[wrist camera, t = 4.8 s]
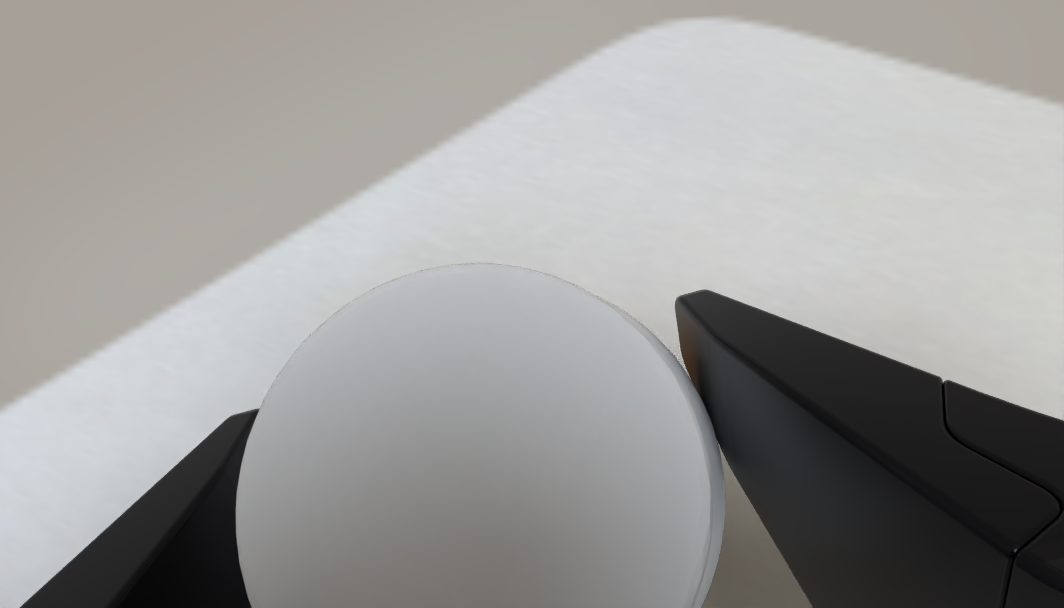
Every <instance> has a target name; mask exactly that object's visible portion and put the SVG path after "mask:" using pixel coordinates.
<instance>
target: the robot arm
mask: <svg viewBox="0 0 1064 608" xmlns="http://www.w3.org/2000/svg"><path fill="white" fill-rule="evenodd" d="M675 312H676V319H677V326H678V333H679V341H680V348H681V353H682V357H683V360H684V363H685V366H686V369H687V371H688V373H689V376H690V378H691V380H692V382H693V384H694V386H695V388H696V389H697V391H698V393H699V395H700V397H701V399H702V401H703V403H704V406H705V408H706V410H707V412H708V415H709V417H710V419H711V422H712V425H713V428H714V431H715V435H716V438H717V441H718V443H719V445H720V447H721V449H722V452H723V454H724V456H725V458H726V460H727V462H728V464H729V466H730V468H731V469H732V471H733V473H734V475H735V477H736V478H737V480H738V482H739V483H740V485H741V487H742V488H743V490H744V492H745V494H746V495H747V497H748V499H749V500H750V502H751V504H752V505H753V507H754V509H755V510H756V512H757V514H758V515H759V517H760V519H761V521H762V522H763V524H764V526H765V527H766V529H767V531H768V532H769V534H770V536H771V537H772V539H773V541H774V543H775V544H776V546H777V548H778V549H779V551H780V553H781V554H782V556H783V558H784V559H785V561H786V563H787V565H788V566H789V568H790V570H791V571H792V573H793V575H794V576H795V578H796V580H797V581H798V583H799V585H800V586H801V588H802V590H803V592H804V593H805V595H806V597H807V598H808V600H809V602H810V603H811V605H812V607H813V608H1064V420H1060V419H1057V418H1054V417H1051V416H1048V415H1045V414H1041V413H1038V412H1035V411H1032V410H1030V409H1027V408H1024V407H1021V406H1018V405H1015V404H1013V403H1010V402H1007V401H1004V400H1001V399H999V398H996V397H993V396H990V395H987V394H984V393H982V392H979V391H976V390H974V389H971V388H968V387H966V386H963V385H960V384H958V383H955V382H952V381H950V380H946V381H944V382H943V381H942V379H941V377H938V376H936V375H933V374H930V373H928V372H925V371H922V370H920V369H917V368H914V367H912V366H909V365H907V364H904V363H901V362H899V361H896V360H893V359H891V358H888V357H885V356H883V355H880V354H877V353H875V352H872V351H869V350H867V349H864V348H861V347H859V346H856V345H853V344H851V343H848V342H845V341H843V340H840V339H837V338H835V337H832V336H829V335H827V334H824V333H821V332H819V331H816V330H813V329H811V328H808V327H805V326H803V325H800V324H797V323H795V322H792V321H790V320H787V319H784V318H782V317H779V316H776V315H774V314H771V313H768V312H766V311H763V310H760V309H758V308H755V307H752V306H750V305H747V304H744V303H742V302H739V301H736V300H734V299H731V298H728V297H726V296H723V295H720V294H718V293H715V292H712V291H710V290H700V291H696V292H692V293H688V294H685V295H681V296H679V297H677V299H676V301H675ZM259 410H260V409H254V410H250V411H247V412H243V413H239V414H235V415H233V416H230V417H229V418H228V419H226V420H225V421H224V422H223V423H222V424H221V425H220V426H219V427H218V428H217V429H215V430H214V431H213V432H212V433H211V434H210V435H209V436H208V437H207V438H206V439H204V440H203V441H202V442H201V443H200V444H199V445H198V446H197V447H196V448H195V449H193V450H192V451H191V452H190V453H189V454H188V455H187V456H186V457H185V458H184V459H182V460H181V461H180V462H179V463H178V464H177V465H176V466H175V467H174V468H173V469H171V470H170V471H169V472H168V473H167V474H166V475H165V476H164V477H163V478H162V479H161V480H159V481H158V482H157V483H156V484H155V485H154V486H153V487H152V488H151V489H150V490H148V491H147V492H146V493H145V494H144V495H143V496H142V497H141V498H140V499H139V500H137V501H136V502H135V503H134V504H133V505H132V506H131V507H130V508H129V509H128V510H126V511H125V512H124V513H123V514H122V515H121V516H120V517H119V518H118V519H117V520H115V521H114V522H113V523H112V524H111V525H110V526H109V527H108V528H107V529H106V530H104V531H103V532H102V533H101V534H100V535H99V536H98V537H97V538H96V539H95V540H94V541H92V542H91V543H90V544H89V545H88V546H87V547H86V548H85V549H84V550H83V551H81V552H80V553H79V554H78V555H77V556H76V557H75V558H74V559H73V560H72V561H70V562H69V563H68V564H67V565H66V566H65V567H64V568H63V569H62V570H61V571H59V572H58V573H57V574H56V575H55V576H54V577H53V578H52V579H51V580H50V581H48V582H47V583H46V584H45V585H44V586H43V587H42V588H41V589H40V590H39V591H37V592H36V593H35V594H34V595H33V596H32V597H31V598H30V599H29V600H28V601H27V602H25V603H24V604H23V605H22V606H21V607H20V608H252V607H251V604H250V602H249V599H248V596H247V592H246V588H245V584H244V580H243V576H242V572H241V567H240V563H239V555H238V546H237V538H236V496H237V487H238V481H239V475H240V469H241V464H242V460H243V456H244V452H245V448H246V444H247V440H248V438H249V435H250V432H251V430H252V427H253V424H254V422H255V419H256V417H257V414H258V412H259Z"/></svg>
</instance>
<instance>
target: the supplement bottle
mask: <svg viewBox="0 0 1064 608" xmlns="http://www.w3.org/2000/svg"><path fill="white" fill-rule="evenodd" d="M724 524H725V483H724V472H723V467H722V461H721V456H720V450H719V446H718V443H717V439H716V435H715V431H714V428H713V425H712V422H711V419H710V417H709V415H708V412H707V410H706V408H705V406H704V403H703V401H702V399H701V397H700V395H699V393H698V391H697V389H696V388H695V386H694V384H693V382H692V381H691V379H690V378H689V376H688V375H687V373H686V372H685V370H684V369H683V367H682V366H681V364H680V363H679V361H678V360H677V359H676V357H675V356H674V355H673V354H672V353H671V352H670V350H669V349H668V348H667V347H666V346H665V345H664V344H663V343H662V342H661V341H660V340H659V339H658V338H657V337H656V336H655V335H654V334H653V333H652V332H651V331H649V330H648V329H647V328H646V327H645V326H644V325H643V324H641V323H640V322H639V321H637V320H636V319H634V318H633V317H632V316H630V315H629V314H628V313H626V312H625V311H623V310H621V309H620V308H618V307H617V306H615V305H613V304H611V303H610V302H608V301H606V300H604V299H602V298H600V297H598V296H595V295H593V294H591V293H590V292H588V291H586V290H585V289H583V288H581V287H579V286H577V285H574V284H572V283H570V282H567V281H565V280H562V279H560V278H558V277H555V276H552V275H548V274H545V273H541V272H538V271H534V270H530V269H526V268H522V267H517V266H509V265H500V264H492V263H469V264H459V265H448V266H442V267H437V268H432V269H427V270H422V271H418V272H415V273H412V274H409V275H406V276H403V277H400V278H397V279H394V280H392V281H389V282H387V283H385V284H383V285H381V286H378V287H376V288H374V289H372V290H370V291H369V292H367V293H365V294H364V295H362V296H360V297H359V298H357V299H355V300H353V301H352V302H350V303H348V304H347V305H345V306H344V307H343V308H341V309H340V310H338V311H337V312H336V313H334V314H333V315H332V316H331V317H330V318H329V319H328V320H326V321H325V322H324V323H323V324H322V325H321V326H320V327H319V328H318V329H316V330H315V331H314V332H313V333H312V334H311V335H310V336H309V337H308V338H307V339H306V340H305V341H304V342H303V343H302V344H301V346H300V347H299V348H298V349H297V350H296V352H295V353H294V354H293V356H292V357H291V358H290V360H289V361H288V362H287V364H286V365H285V366H284V368H283V369H282V370H281V372H280V373H279V374H278V376H277V377H276V379H275V381H274V382H273V384H272V386H271V388H270V390H269V391H268V393H267V395H266V397H265V398H264V400H263V403H262V405H261V407H260V410H259V412H258V414H257V417H256V419H255V422H254V424H253V427H252V430H251V432H250V435H249V438H248V440H247V444H246V448H245V452H244V456H243V460H242V464H241V469H240V475H239V481H238V487H237V496H236V538H237V546H238V555H239V563H240V567H241V572H242V576H243V580H244V584H245V588H246V592H247V596H248V599H249V602H250V604H251V607H252V608H701V607H702V605H703V603H704V601H705V598H706V596H707V593H708V591H709V588H710V586H711V583H712V580H713V577H714V574H715V570H716V567H717V564H718V560H719V556H720V550H721V545H722V539H723V532H724Z"/></svg>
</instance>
